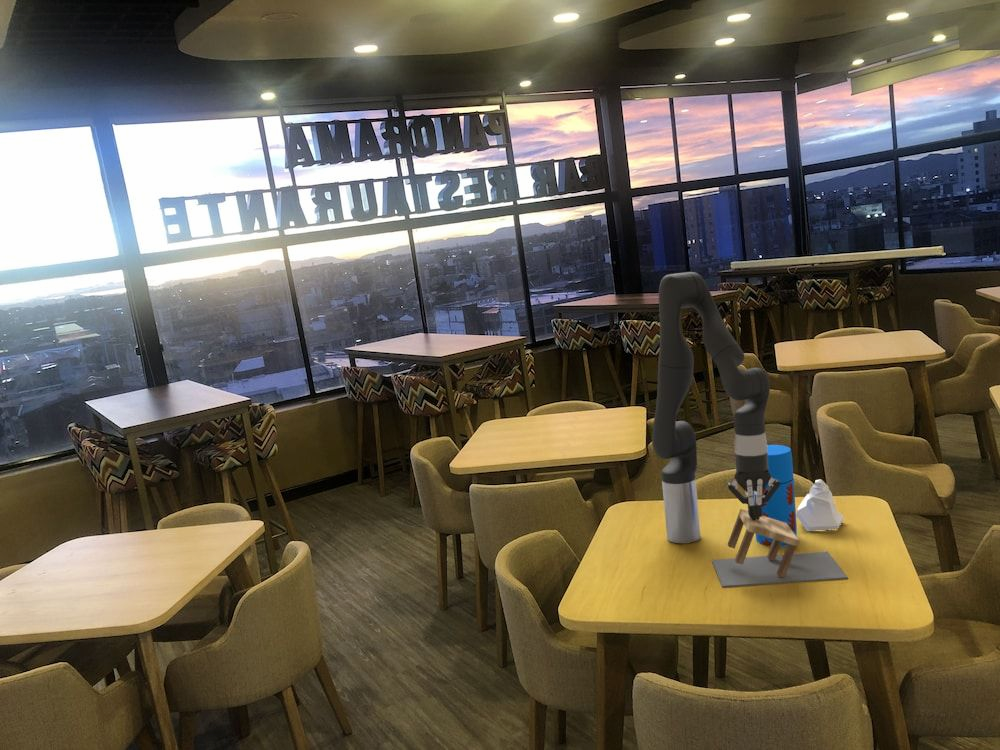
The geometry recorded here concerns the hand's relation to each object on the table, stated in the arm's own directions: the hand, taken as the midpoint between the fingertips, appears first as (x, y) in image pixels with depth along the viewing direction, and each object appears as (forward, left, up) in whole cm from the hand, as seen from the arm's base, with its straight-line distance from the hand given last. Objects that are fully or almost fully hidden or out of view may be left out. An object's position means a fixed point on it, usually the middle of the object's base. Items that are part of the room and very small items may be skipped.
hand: (755, 518), depth 198 cm
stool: (0, +7, -9) cm, 11 cm away
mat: (0, +4, -14) cm, 14 cm away
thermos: (-20, +9, -14) cm, 26 cm away
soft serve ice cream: (-29, +23, -14) cm, 39 cm away
